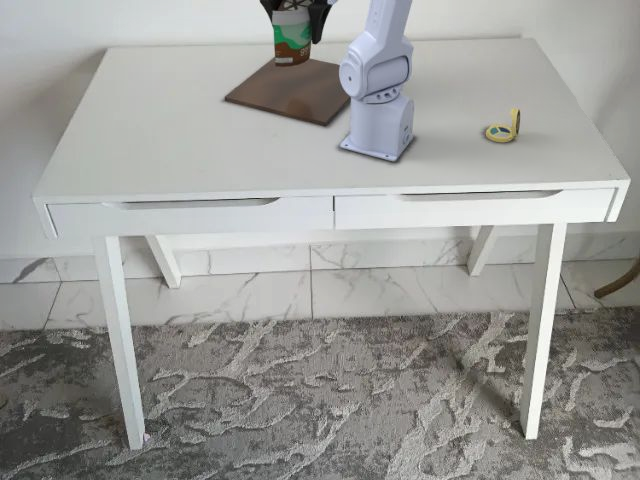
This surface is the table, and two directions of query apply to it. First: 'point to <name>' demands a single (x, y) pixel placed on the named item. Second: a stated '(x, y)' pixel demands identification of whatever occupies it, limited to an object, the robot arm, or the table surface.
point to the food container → (292, 33)
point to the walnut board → (294, 91)
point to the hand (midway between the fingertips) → (297, 38)
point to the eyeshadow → (505, 129)
